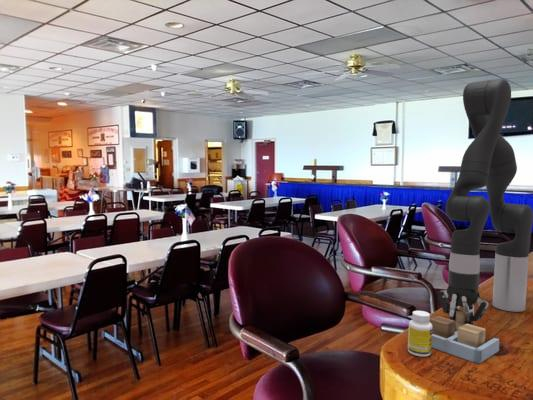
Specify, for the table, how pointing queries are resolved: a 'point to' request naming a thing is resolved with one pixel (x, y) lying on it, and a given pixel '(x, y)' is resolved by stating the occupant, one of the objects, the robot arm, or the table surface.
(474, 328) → the oak block
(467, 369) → the table surface
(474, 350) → the lane shelf
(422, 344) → the supplement bottle
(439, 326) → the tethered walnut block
